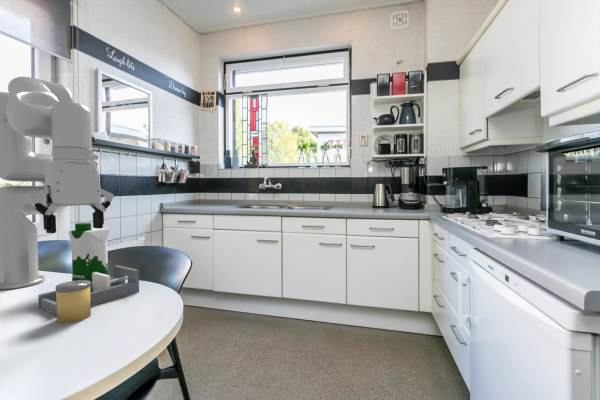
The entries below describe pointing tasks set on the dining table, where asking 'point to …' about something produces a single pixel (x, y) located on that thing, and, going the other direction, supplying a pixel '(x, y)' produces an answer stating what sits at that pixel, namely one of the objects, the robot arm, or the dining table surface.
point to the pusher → (103, 281)
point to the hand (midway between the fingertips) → (75, 230)
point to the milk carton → (88, 251)
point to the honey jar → (73, 301)
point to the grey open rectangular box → (100, 296)
